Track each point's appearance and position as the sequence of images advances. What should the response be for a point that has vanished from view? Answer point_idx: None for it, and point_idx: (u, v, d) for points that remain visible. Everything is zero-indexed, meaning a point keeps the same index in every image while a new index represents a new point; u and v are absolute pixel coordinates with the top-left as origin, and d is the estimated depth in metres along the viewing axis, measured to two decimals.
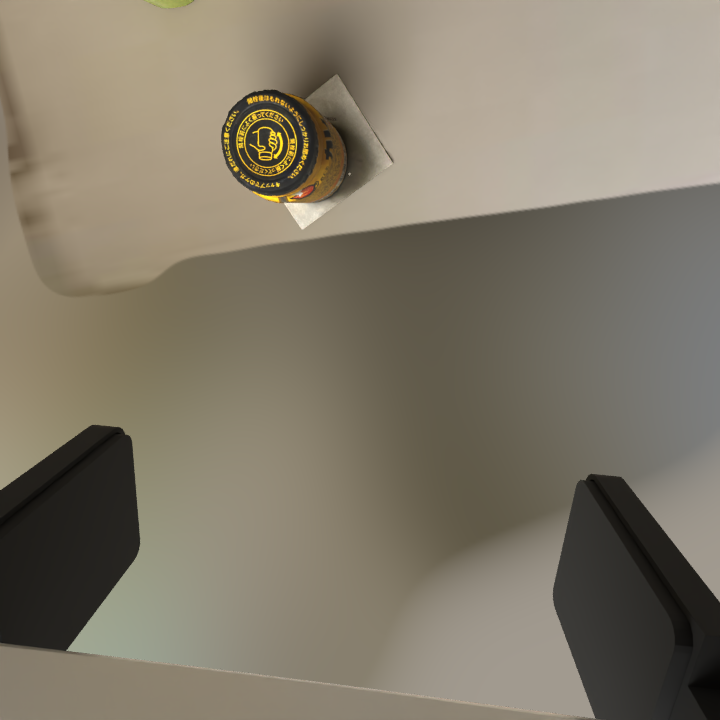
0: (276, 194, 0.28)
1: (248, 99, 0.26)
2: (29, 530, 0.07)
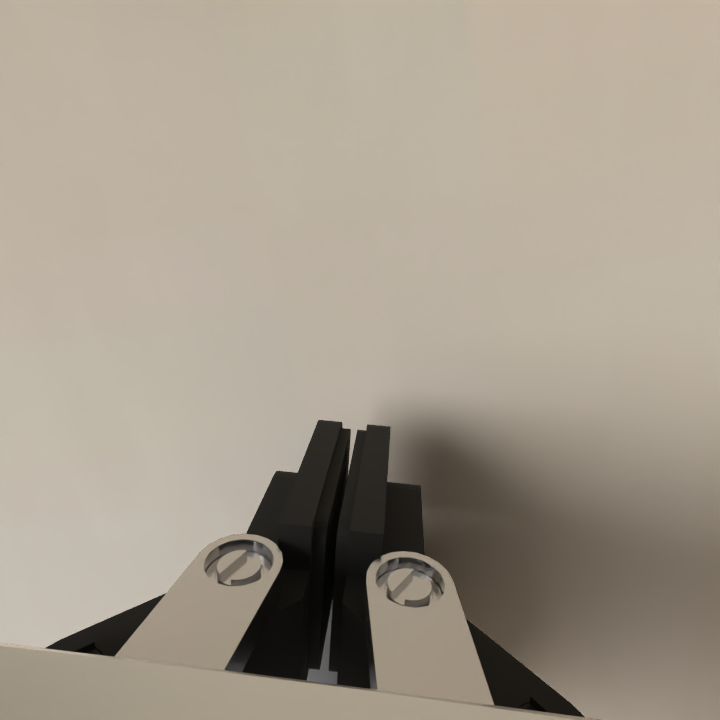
0: None
1: None
2: (332, 512, 0.08)
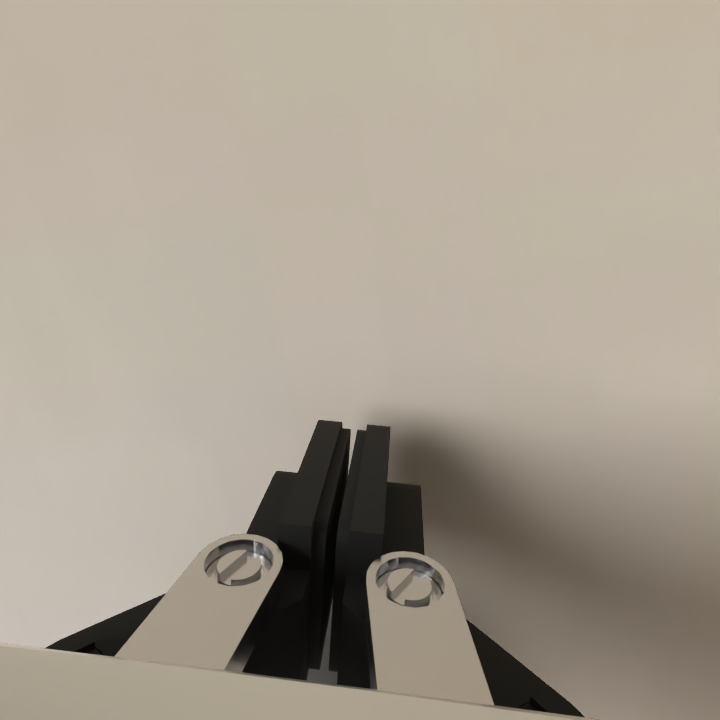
0: None
1: None
2: (332, 512, 0.08)
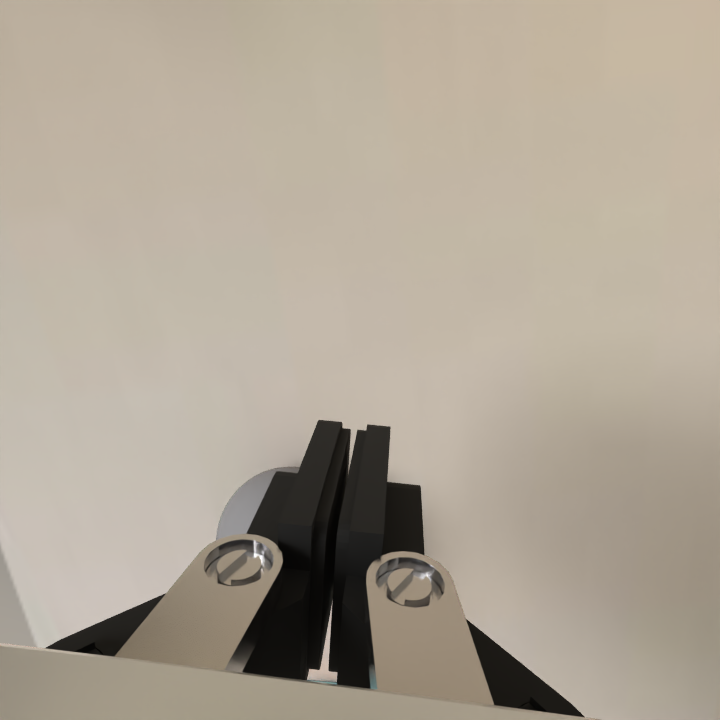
0: None
1: None
2: (332, 512, 0.08)
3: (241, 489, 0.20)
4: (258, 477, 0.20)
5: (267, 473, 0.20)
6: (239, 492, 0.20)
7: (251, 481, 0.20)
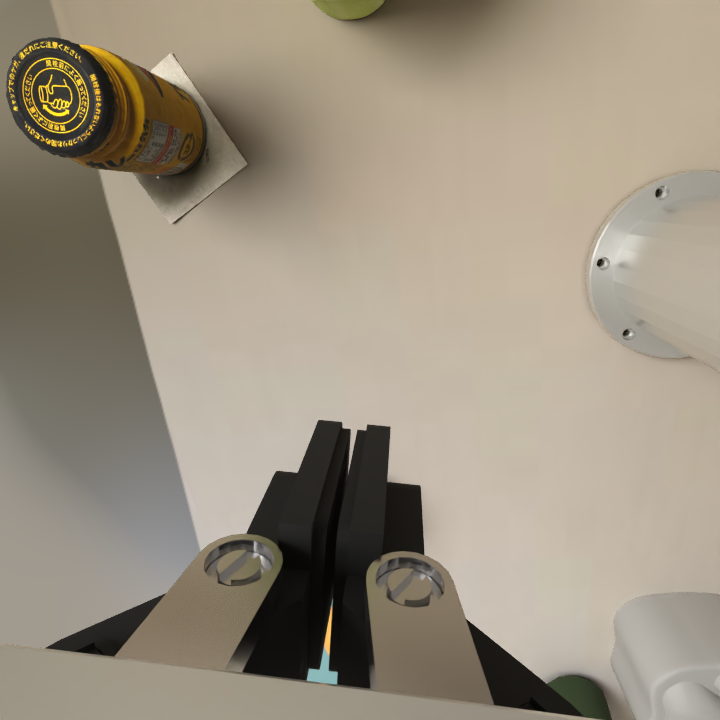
0: None
1: (94, 75, 0.24)
2: (332, 512, 0.08)
3: None
4: None
5: None
6: None
7: None
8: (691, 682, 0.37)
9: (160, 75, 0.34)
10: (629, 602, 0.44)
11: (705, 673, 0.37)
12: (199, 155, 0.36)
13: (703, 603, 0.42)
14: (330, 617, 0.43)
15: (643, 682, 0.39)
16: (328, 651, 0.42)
